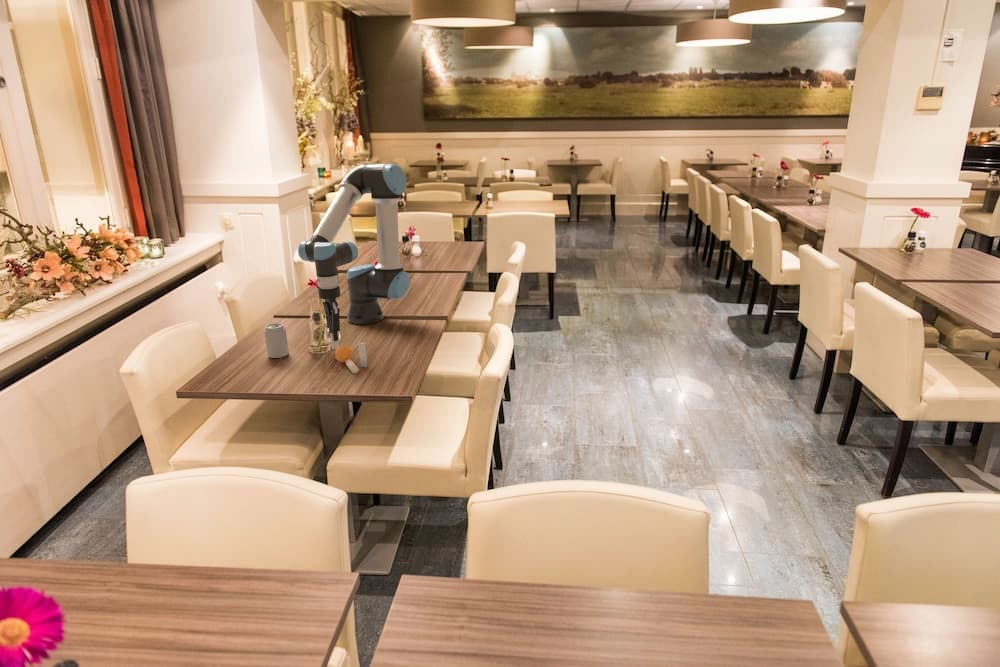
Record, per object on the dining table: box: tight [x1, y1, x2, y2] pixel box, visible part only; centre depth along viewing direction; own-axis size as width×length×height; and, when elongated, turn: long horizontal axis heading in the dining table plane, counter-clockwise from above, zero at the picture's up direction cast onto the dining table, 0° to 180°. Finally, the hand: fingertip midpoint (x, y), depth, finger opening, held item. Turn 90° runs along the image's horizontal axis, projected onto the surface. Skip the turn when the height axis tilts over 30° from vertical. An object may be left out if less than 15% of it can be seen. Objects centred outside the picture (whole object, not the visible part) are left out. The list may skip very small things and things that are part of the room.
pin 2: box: [357, 341, 368, 368], centre depth 234 cm, size 2×2×8 cm
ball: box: [334, 345, 353, 364], centre depth 239 cm, size 6×6×6 cm
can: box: [263, 322, 290, 359], centre depth 246 cm, size 8×8×12 cm
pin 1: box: [345, 358, 359, 375], centre depth 232 cm, size 2×2×8 cm
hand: (335, 347), depth 248 cm, fingers closed
